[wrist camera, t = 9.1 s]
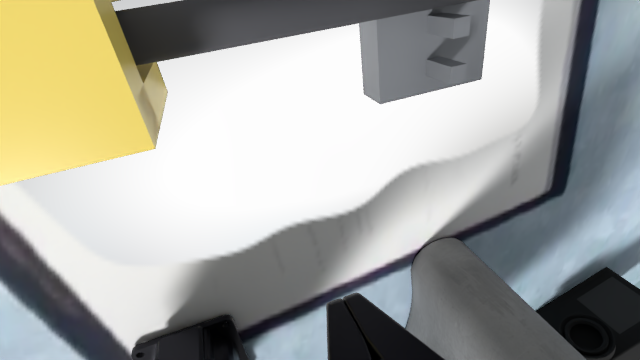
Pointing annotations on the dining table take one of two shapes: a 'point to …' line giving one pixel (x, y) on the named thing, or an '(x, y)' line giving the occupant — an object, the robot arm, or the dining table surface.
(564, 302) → the digital camera
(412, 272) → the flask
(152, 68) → the sleeve
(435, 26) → the grey pronged block
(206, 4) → the dark grey rod
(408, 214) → the dining table surface
